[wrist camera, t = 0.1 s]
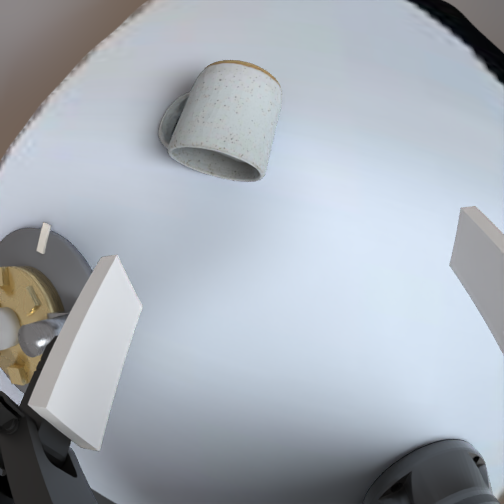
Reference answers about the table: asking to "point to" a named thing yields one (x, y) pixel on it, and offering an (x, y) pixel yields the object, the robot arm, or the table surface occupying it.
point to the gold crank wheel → (29, 319)
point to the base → (50, 264)
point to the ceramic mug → (225, 121)
